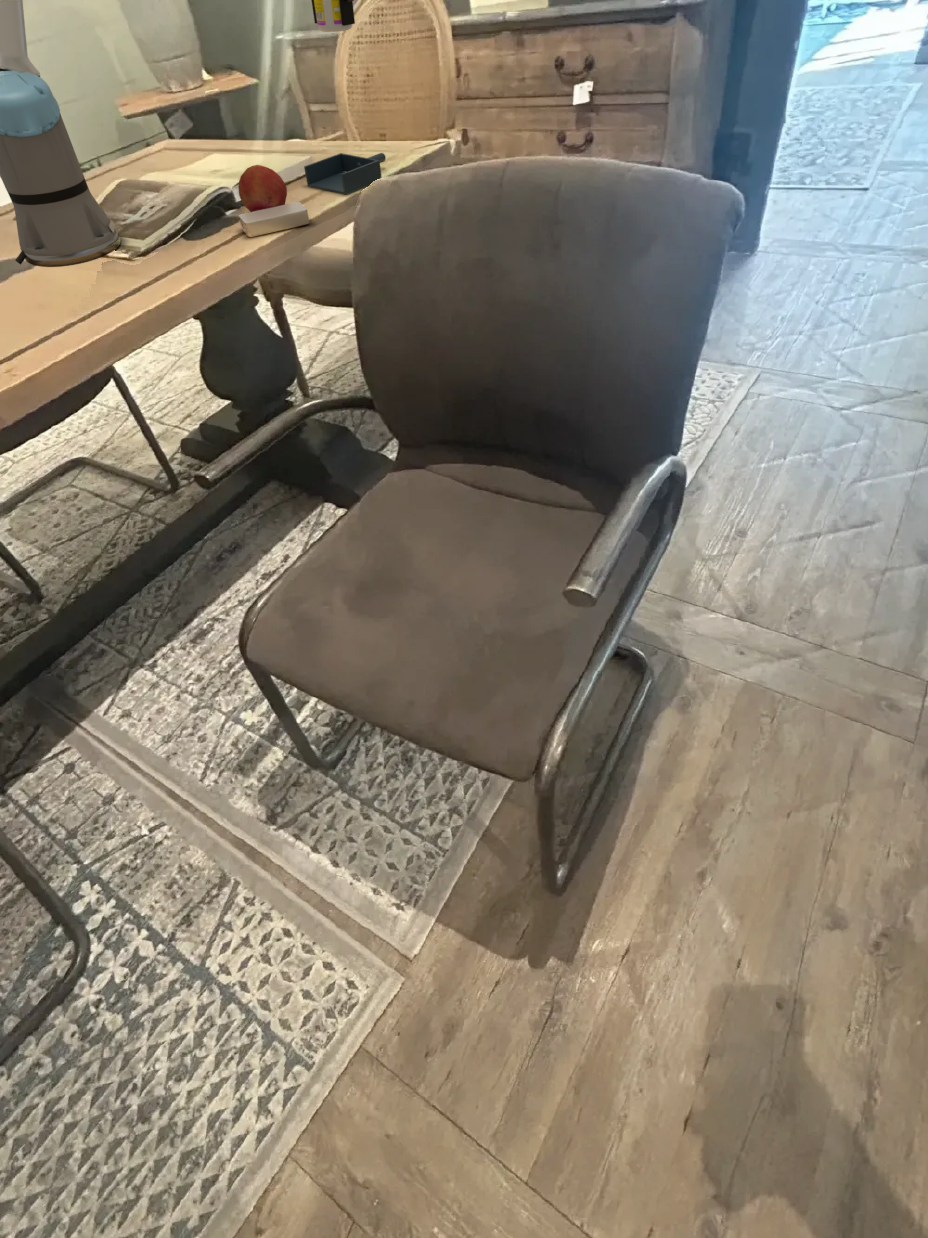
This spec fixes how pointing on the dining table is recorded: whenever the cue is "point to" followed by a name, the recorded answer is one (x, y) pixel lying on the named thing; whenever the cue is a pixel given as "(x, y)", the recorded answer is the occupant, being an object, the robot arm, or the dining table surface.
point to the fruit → (261, 188)
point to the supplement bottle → (329, 16)
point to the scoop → (334, 178)
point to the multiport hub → (274, 219)
